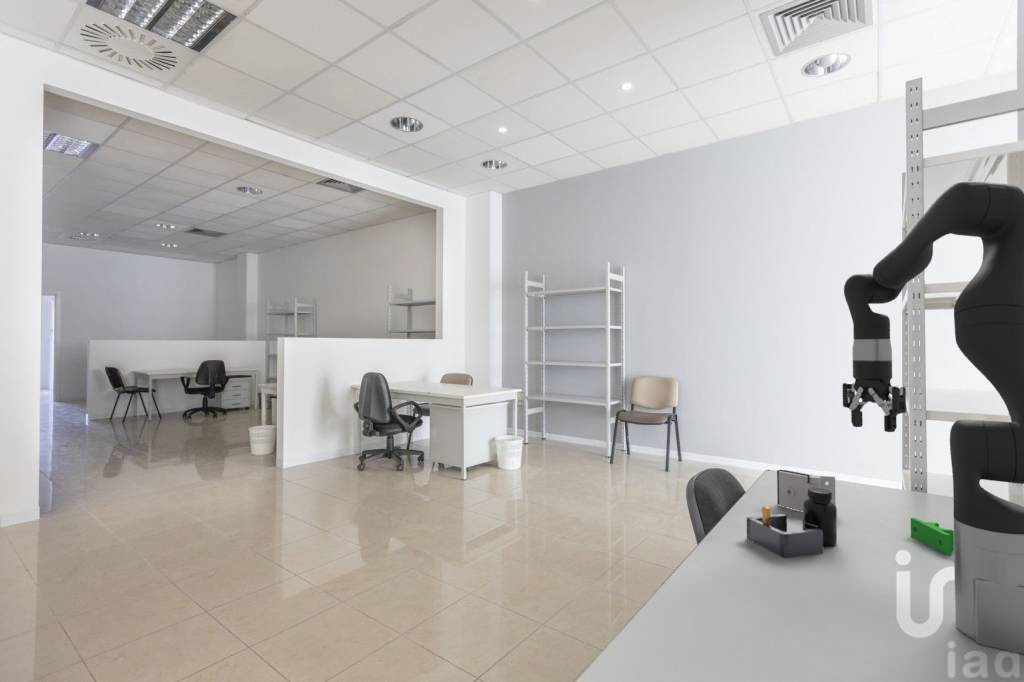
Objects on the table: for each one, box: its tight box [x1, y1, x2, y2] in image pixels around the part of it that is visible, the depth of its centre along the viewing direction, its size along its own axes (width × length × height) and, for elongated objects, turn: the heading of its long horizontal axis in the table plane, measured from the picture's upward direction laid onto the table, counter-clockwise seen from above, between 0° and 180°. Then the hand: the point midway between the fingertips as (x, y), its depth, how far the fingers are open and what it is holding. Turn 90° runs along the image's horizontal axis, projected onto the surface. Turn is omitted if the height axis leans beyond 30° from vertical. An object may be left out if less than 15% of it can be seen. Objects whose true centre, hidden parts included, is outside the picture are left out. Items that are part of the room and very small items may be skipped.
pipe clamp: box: [910, 517, 954, 556], centre depth 114 cm, size 11×4×5 cm, turn 173°
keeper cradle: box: [746, 505, 824, 559], centre depth 114 cm, size 10×11×9 cm
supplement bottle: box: [802, 487, 838, 548], centre depth 117 cm, size 7×7×12 cm
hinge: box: [776, 469, 837, 512], centre depth 139 cm, size 14×5×10 cm, turn 49°
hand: (873, 429), depth 117 cm, fingers open, 7 cm apart
